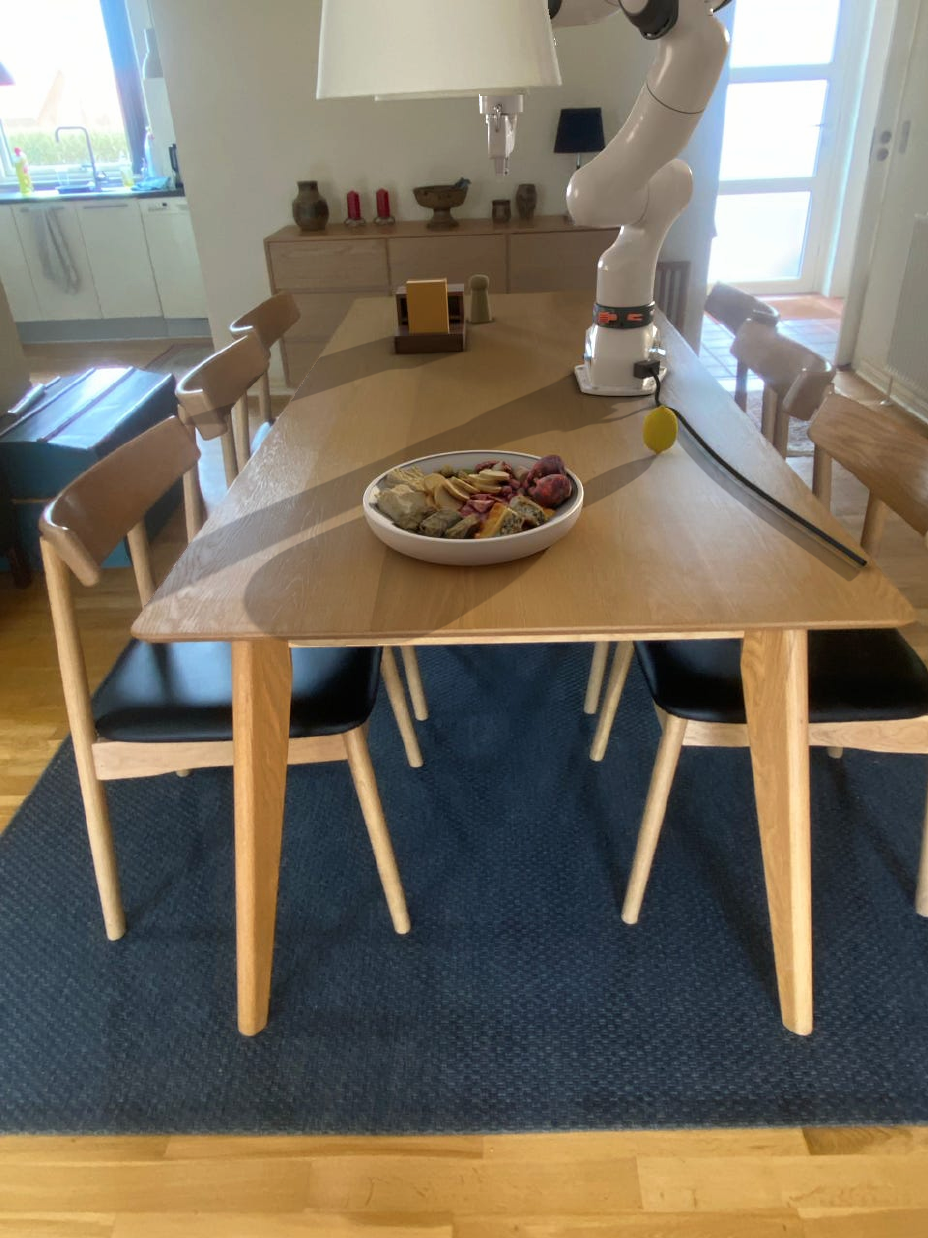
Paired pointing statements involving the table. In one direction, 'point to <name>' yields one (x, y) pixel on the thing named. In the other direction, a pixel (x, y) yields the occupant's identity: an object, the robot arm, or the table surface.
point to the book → (427, 305)
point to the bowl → (474, 506)
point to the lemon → (660, 429)
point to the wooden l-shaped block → (434, 340)
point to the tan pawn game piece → (479, 299)
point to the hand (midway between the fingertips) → (502, 179)
